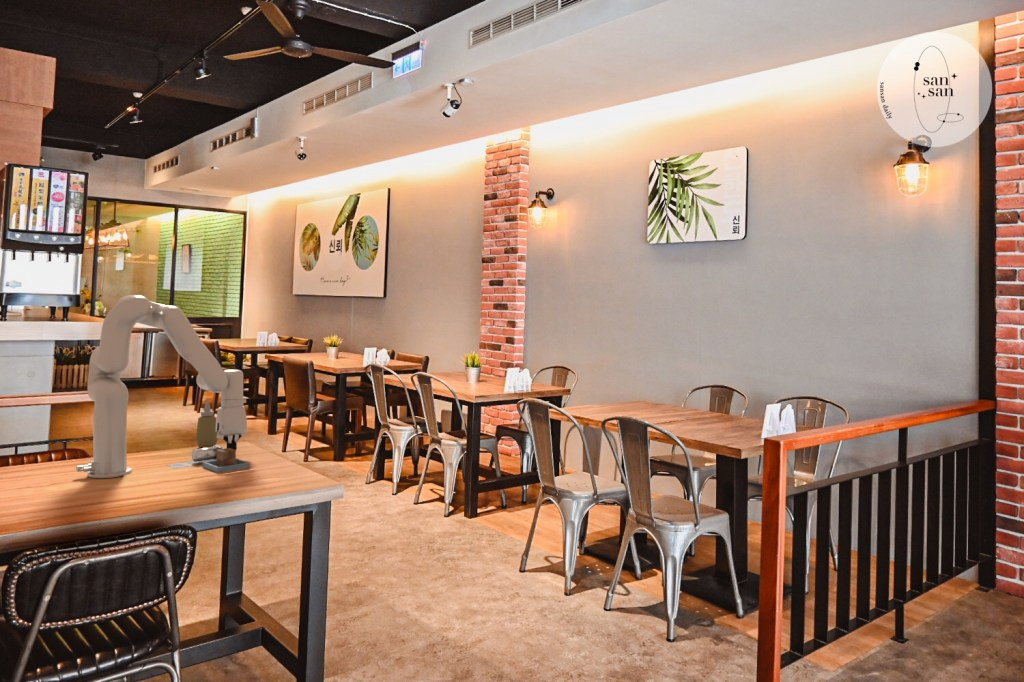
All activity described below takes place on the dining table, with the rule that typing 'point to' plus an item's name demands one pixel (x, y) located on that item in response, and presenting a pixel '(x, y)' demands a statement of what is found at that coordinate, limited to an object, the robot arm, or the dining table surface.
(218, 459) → the block
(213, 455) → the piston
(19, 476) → the dining table surface
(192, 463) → the rail
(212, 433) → the squeeze bottle
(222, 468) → the tray
